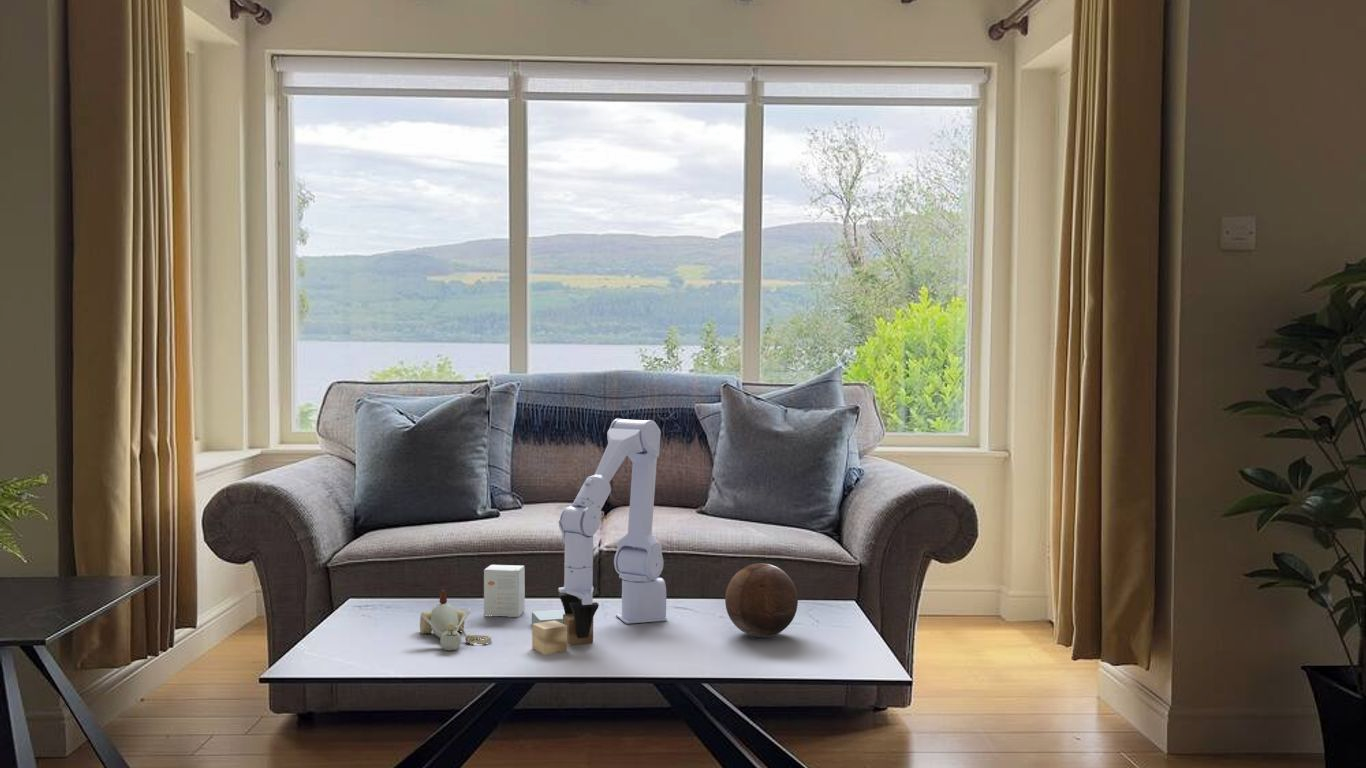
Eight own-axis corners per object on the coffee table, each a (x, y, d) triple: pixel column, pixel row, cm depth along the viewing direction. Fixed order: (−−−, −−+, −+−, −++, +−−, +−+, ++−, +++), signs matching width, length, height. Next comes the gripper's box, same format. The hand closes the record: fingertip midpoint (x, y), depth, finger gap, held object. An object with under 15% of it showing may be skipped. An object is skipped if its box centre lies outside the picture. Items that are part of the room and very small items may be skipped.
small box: (525, 611, 237) (525, 565, 237) (518, 618, 232) (519, 570, 231) (490, 610, 238) (490, 564, 238) (483, 616, 232) (483, 568, 232)
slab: (568, 622, 230) (568, 608, 230) (577, 631, 222) (577, 617, 222) (531, 625, 227) (531, 611, 227) (539, 634, 219) (540, 620, 219)
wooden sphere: (811, 636, 220) (812, 564, 219) (766, 650, 209) (767, 574, 208) (755, 623, 230) (756, 554, 230) (709, 635, 219) (710, 563, 219)
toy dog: (442, 655, 203) (443, 609, 202) (398, 635, 217) (399, 591, 216) (498, 645, 211) (498, 600, 210) (452, 626, 225) (453, 584, 224)
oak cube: (554, 645, 210) (554, 620, 210) (567, 651, 206) (567, 625, 206) (532, 649, 207) (532, 623, 207) (544, 655, 203) (544, 629, 203)
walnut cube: (586, 636, 217) (586, 612, 217) (593, 642, 212) (593, 618, 212) (562, 638, 215) (563, 614, 215) (568, 645, 211) (569, 620, 211)
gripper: (551, 560, 219) (550, 625, 219) (568, 573, 205) (567, 643, 206) (584, 558, 221) (583, 623, 222) (603, 571, 208) (602, 640, 208)
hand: (577, 632), depth 214 cm, fingers open, 7 cm apart
